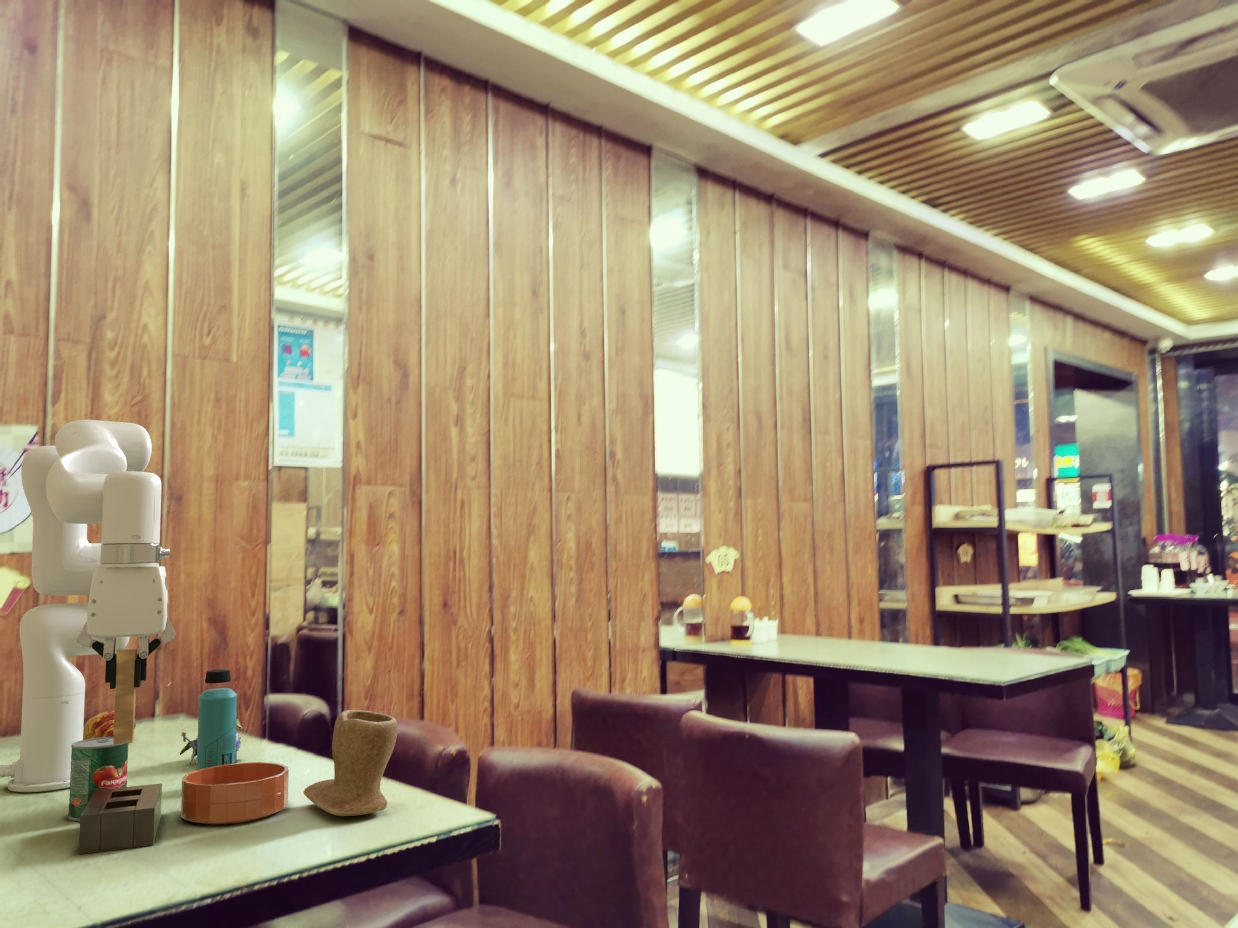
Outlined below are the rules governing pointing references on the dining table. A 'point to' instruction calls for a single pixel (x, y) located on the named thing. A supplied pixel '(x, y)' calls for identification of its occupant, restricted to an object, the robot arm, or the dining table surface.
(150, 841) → the utensil stand
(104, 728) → the croissant
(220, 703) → the beverage bottle
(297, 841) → the dining table surface
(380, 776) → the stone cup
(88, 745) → the canned tomato
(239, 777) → the bowl
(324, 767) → the dining table surface
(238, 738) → the passion flower
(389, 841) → the dining table surface
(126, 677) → the light brown wooden bar
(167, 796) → the dining table surface
